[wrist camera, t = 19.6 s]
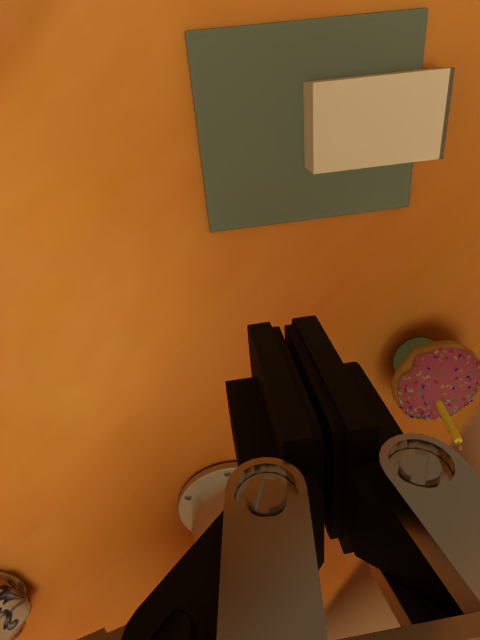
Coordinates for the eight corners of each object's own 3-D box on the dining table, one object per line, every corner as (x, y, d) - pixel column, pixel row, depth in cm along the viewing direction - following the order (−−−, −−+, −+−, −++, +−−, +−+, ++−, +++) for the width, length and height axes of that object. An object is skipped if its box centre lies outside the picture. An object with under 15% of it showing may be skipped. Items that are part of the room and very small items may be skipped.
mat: (406, 205, 38) (408, 206, 38) (209, 230, 37) (210, 232, 37) (425, 8, 31) (428, 7, 31) (184, 31, 30) (184, 31, 30)
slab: (304, 167, 35) (425, 153, 36) (313, 174, 33) (442, 158, 34) (303, 81, 32) (435, 67, 33) (313, 82, 30) (454, 67, 31)
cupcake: (397, 400, 49) (457, 488, 39) (360, 353, 45) (415, 436, 35) (466, 356, 47) (548, 436, 37) (433, 303, 44) (515, 375, 33)
